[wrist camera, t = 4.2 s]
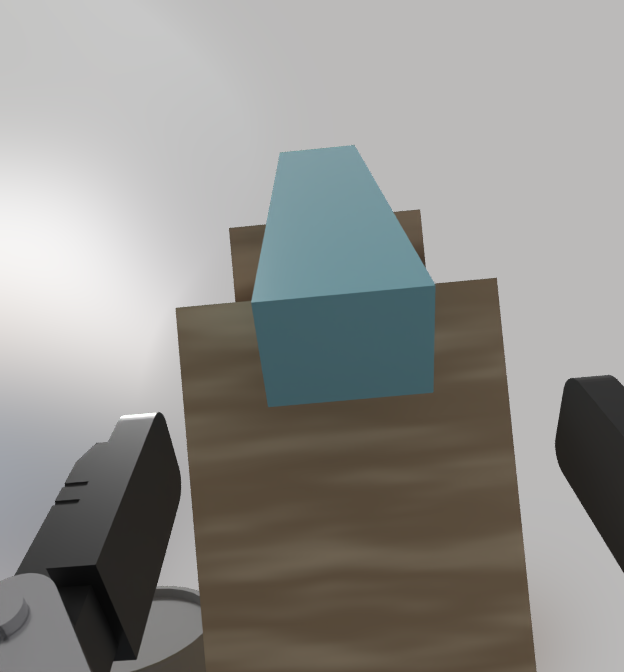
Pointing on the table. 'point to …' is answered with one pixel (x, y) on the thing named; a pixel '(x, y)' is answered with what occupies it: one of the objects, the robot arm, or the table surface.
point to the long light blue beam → (339, 288)
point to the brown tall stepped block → (355, 501)
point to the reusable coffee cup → (170, 635)
